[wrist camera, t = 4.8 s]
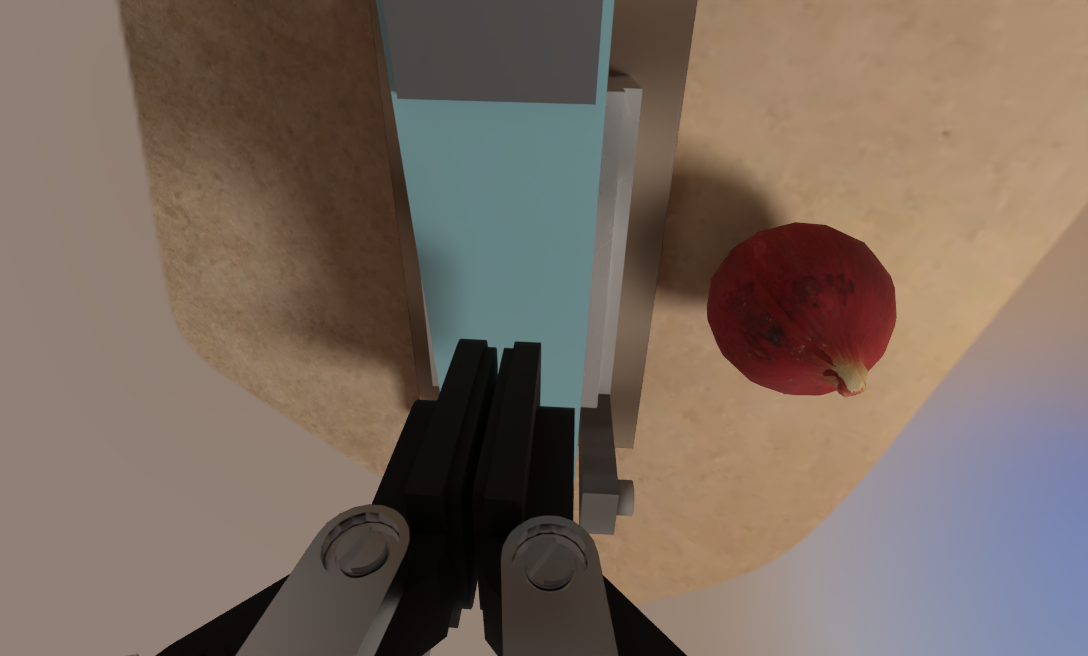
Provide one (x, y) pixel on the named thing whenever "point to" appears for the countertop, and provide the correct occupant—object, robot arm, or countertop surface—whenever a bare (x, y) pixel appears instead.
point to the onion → (802, 310)
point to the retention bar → (503, 170)
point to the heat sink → (604, 237)
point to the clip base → (660, 70)
